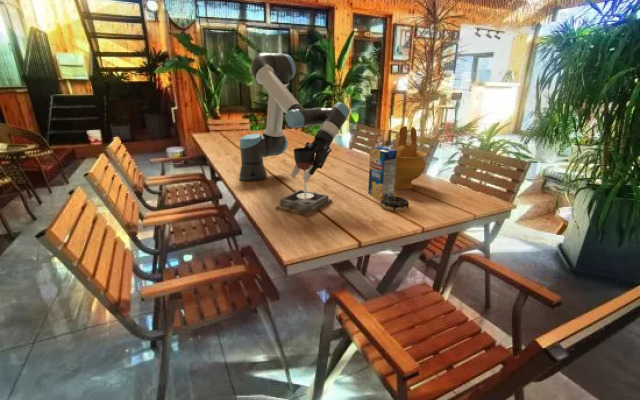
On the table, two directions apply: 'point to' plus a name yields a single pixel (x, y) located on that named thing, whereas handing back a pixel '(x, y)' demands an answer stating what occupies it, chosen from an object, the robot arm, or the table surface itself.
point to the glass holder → (303, 203)
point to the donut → (394, 203)
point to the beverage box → (382, 172)
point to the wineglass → (304, 165)
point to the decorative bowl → (408, 160)
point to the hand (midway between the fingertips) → (298, 178)
